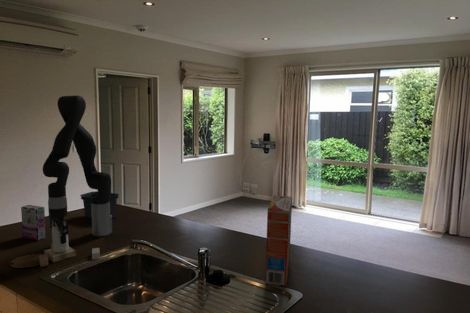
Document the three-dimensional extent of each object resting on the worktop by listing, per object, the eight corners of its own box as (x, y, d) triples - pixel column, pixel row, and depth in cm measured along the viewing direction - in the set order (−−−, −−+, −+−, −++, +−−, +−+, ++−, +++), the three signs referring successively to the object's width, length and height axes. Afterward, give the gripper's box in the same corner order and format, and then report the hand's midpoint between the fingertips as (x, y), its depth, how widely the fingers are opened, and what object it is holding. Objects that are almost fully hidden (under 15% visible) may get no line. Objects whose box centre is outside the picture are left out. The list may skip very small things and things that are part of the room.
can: (62, 253, 160) (61, 227, 159) (49, 252, 162) (48, 226, 160) (71, 248, 167) (70, 223, 165) (59, 246, 168) (58, 221, 166)
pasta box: (285, 286, 140) (288, 211, 136) (265, 283, 142) (267, 209, 138) (289, 261, 163) (292, 196, 158) (271, 260, 164) (273, 195, 160)
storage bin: (78, 218, 218) (77, 195, 216) (96, 211, 233) (95, 189, 231) (107, 222, 211) (106, 198, 209) (123, 215, 226) (123, 193, 224)
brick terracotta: (39, 261, 158) (39, 255, 158) (47, 260, 160) (46, 253, 159) (40, 267, 153) (40, 260, 153) (48, 265, 155) (48, 258, 154)
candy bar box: (46, 237, 186) (45, 206, 184) (38, 241, 181) (36, 209, 179) (31, 234, 190) (29, 204, 188) (22, 237, 185) (20, 206, 183)
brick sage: (62, 246, 176) (62, 240, 175) (66, 247, 174) (66, 241, 174) (51, 250, 171) (50, 244, 170) (54, 251, 169) (54, 245, 169)
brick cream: (92, 259, 161) (99, 259, 162) (91, 253, 161) (99, 252, 162) (92, 254, 167) (99, 253, 168) (92, 248, 166) (99, 247, 167)
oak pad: (66, 249, 171) (66, 244, 171) (76, 255, 164) (75, 250, 164) (44, 255, 164) (44, 250, 163) (53, 262, 157) (52, 257, 157)
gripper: (73, 207, 159) (74, 242, 161) (59, 201, 168) (61, 234, 171) (55, 210, 153) (57, 247, 156) (42, 204, 163) (44, 238, 165)
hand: (59, 240), depth 163 cm, fingers open, 8 cm apart
